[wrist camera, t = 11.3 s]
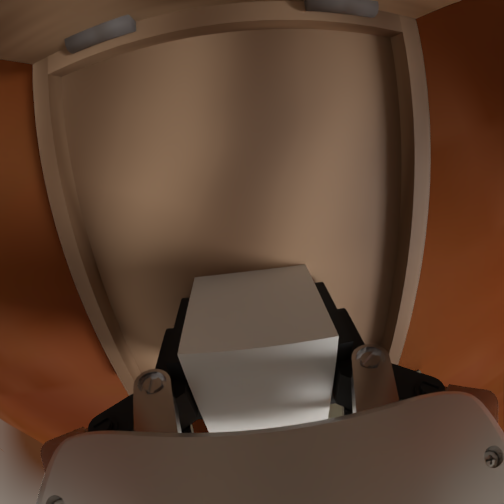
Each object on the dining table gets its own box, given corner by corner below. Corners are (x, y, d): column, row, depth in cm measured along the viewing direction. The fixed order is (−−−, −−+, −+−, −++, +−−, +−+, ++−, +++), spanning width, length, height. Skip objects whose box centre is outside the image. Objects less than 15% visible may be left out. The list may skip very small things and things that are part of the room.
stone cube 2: (305, 264, 12) (338, 335, 8) (305, 346, 14) (327, 420, 9) (194, 277, 12) (177, 354, 8) (214, 357, 14) (209, 434, 9)
